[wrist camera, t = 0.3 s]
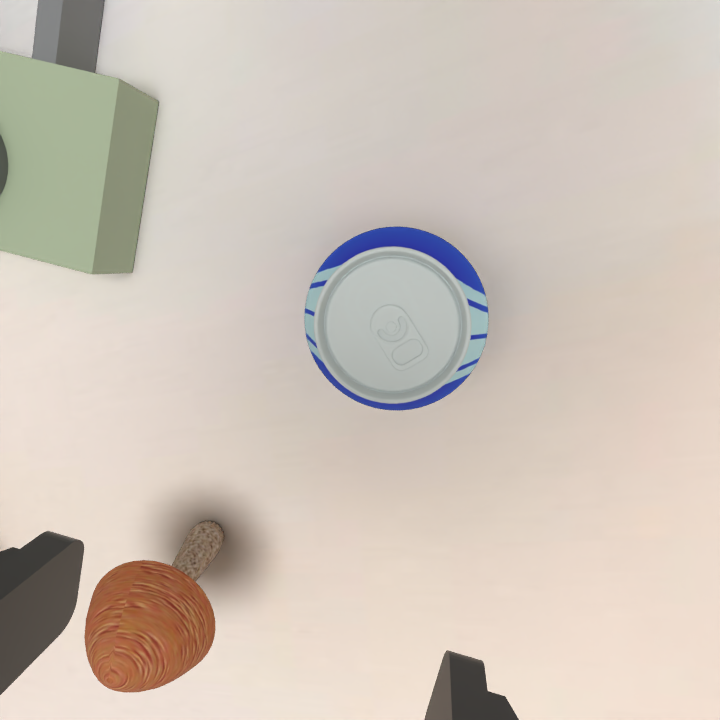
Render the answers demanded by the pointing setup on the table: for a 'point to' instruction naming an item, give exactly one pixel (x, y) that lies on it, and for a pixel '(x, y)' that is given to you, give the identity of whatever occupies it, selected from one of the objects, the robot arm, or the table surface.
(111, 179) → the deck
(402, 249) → the beer can
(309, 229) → the table surface
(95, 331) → the table surface
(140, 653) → the mushroom
